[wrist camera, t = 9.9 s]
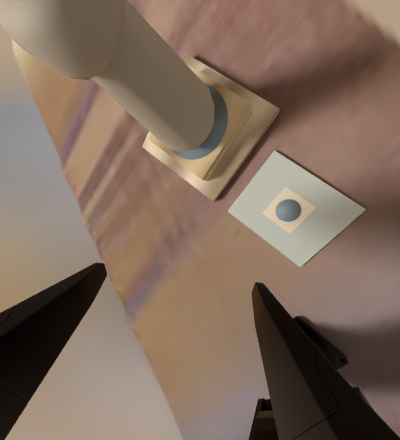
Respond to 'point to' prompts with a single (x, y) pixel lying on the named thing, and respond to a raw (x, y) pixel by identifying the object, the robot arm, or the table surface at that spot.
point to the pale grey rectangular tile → (293, 209)
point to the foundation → (219, 134)
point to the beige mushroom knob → (116, 62)
